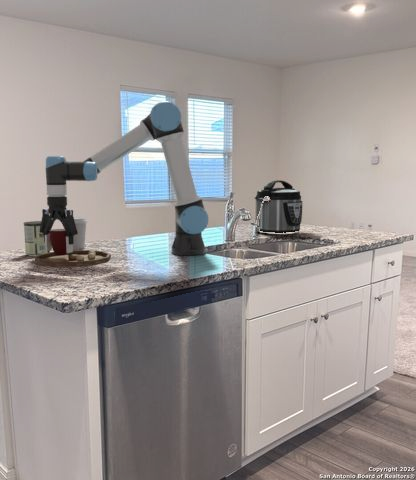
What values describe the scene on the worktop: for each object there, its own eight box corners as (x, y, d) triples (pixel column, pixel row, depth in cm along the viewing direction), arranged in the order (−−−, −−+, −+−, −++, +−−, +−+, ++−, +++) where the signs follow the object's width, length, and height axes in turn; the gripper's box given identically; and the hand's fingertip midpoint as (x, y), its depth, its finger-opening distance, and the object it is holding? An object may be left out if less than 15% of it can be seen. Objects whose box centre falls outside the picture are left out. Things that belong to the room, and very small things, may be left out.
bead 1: (86, 262, 183) (85, 254, 182) (80, 263, 180) (80, 255, 179) (79, 261, 184) (79, 254, 183) (74, 262, 181) (74, 255, 181)
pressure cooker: (261, 236, 271) (262, 180, 267) (247, 231, 299) (247, 180, 294) (310, 235, 277) (312, 180, 273) (292, 230, 305) (293, 180, 300)
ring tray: (124, 260, 195) (123, 252, 194) (77, 272, 170) (77, 264, 169) (70, 254, 207) (70, 247, 206) (20, 265, 182) (19, 257, 181)
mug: (42, 254, 191) (41, 229, 189) (59, 252, 197) (58, 228, 196) (59, 257, 185) (57, 231, 183) (75, 254, 191) (74, 229, 190)
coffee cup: (76, 253, 211) (75, 219, 209) (61, 251, 216) (60, 218, 214) (92, 250, 219) (91, 217, 217) (77, 248, 224) (76, 216, 222)
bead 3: (97, 260, 187) (96, 252, 187) (92, 261, 185) (92, 253, 184) (91, 259, 189) (90, 252, 188) (86, 260, 186) (85, 253, 186)
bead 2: (97, 257, 193) (97, 250, 192) (92, 258, 190) (92, 251, 190) (91, 257, 194) (91, 249, 194) (86, 258, 192) (86, 250, 191)
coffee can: (35, 252, 213) (34, 220, 211) (55, 253, 210) (54, 221, 208) (19, 255, 204) (18, 222, 202) (39, 257, 200) (38, 223, 198)
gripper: (86, 196, 186) (87, 252, 189) (42, 194, 196) (44, 248, 199) (73, 197, 180) (75, 255, 183) (28, 195, 189) (30, 250, 192)
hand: (59, 251), depth 191 cm, fingers closed on mug, 10 cm apart
